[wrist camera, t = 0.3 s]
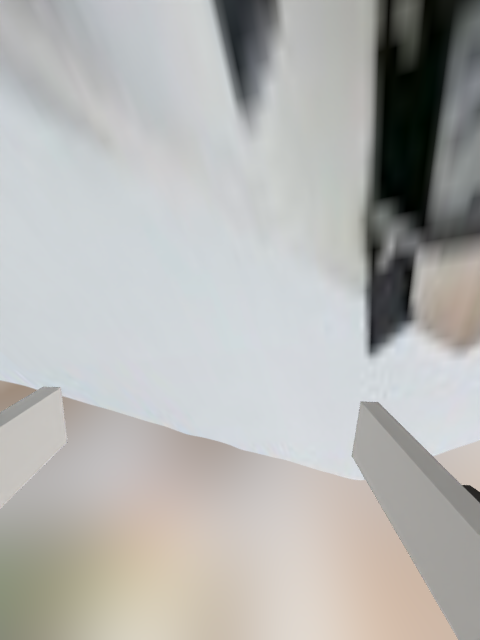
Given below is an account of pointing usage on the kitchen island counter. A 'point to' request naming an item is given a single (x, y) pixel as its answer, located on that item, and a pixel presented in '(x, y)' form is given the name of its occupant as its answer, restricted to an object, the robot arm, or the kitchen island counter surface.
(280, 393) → the kitchen island counter surface
